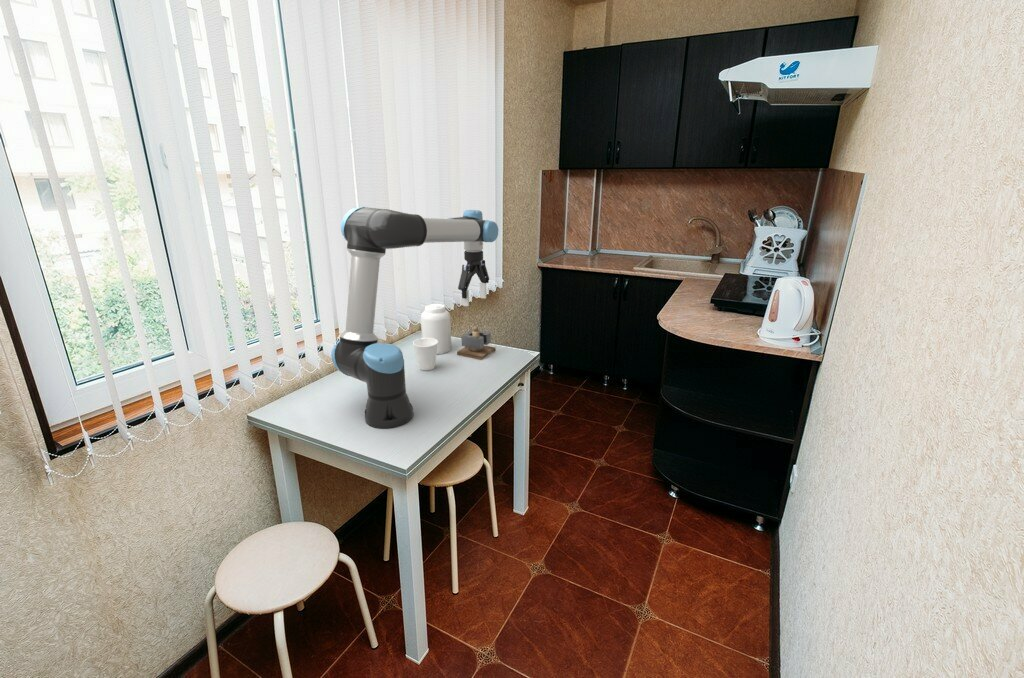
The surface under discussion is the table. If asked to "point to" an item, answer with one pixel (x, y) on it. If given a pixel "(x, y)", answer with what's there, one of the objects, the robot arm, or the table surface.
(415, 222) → the robot arm
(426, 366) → the cup
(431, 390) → the table surface
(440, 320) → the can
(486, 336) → the grey split frame
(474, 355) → the post fixture
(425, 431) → the table surface
